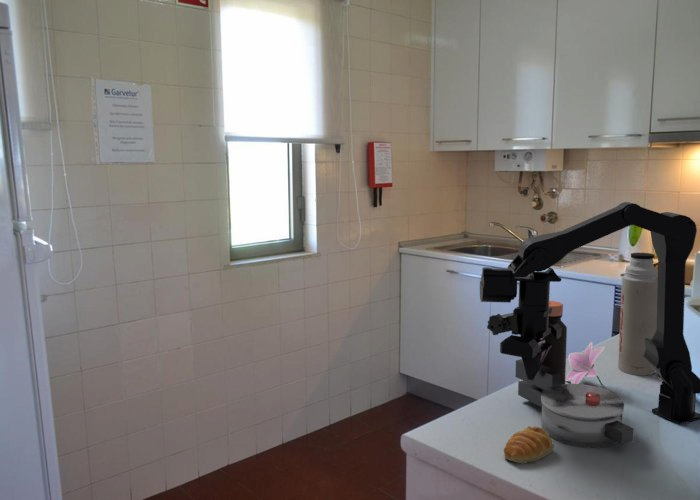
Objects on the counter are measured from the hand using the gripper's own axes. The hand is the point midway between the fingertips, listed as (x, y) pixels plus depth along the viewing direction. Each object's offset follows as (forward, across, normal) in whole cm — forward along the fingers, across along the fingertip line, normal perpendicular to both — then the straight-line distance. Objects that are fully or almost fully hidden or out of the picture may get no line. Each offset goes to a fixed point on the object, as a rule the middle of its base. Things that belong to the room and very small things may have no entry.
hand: (530, 379), depth 118 cm
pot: (+7, 0, +8) cm, 11 cm away
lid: (+2, 0, +6) cm, 7 cm away
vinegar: (+7, -12, 0) cm, 14 cm away
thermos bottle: (+6, -37, +13) cm, 40 cm away
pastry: (+8, +15, +5) cm, 18 cm away
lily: (+7, -21, +5) cm, 22 cm away
